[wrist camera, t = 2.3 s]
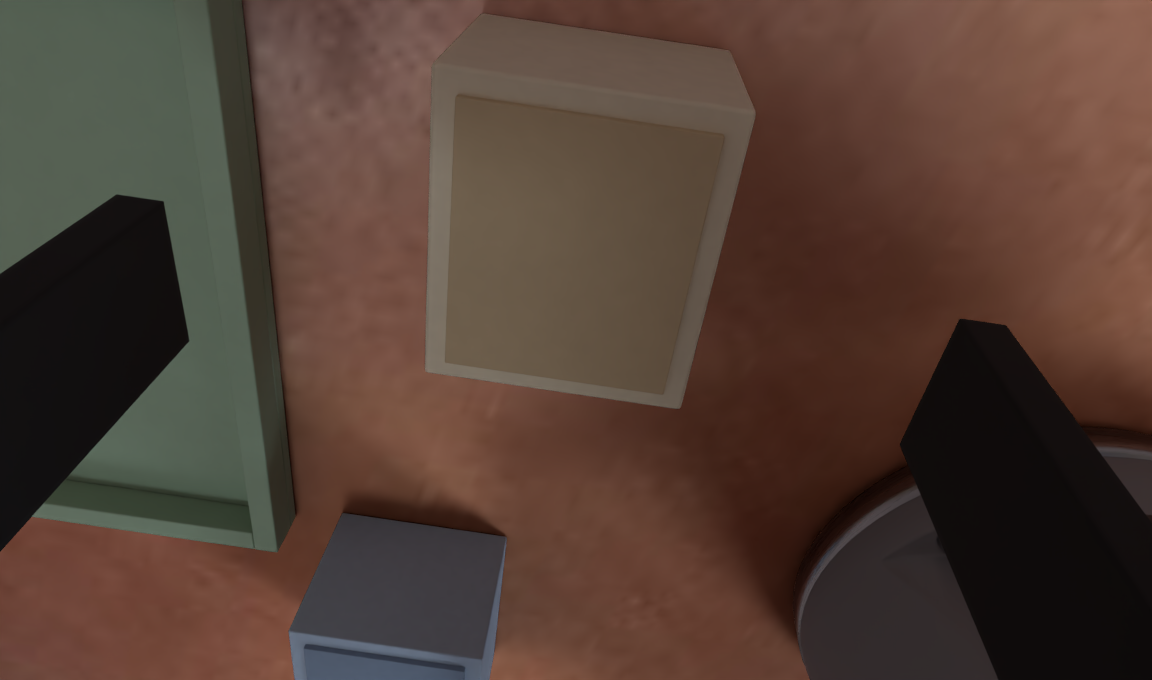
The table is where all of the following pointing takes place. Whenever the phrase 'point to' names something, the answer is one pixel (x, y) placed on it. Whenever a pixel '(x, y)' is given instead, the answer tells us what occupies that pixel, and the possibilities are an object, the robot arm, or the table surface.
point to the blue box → (400, 604)
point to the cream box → (578, 206)
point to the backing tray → (199, 241)
